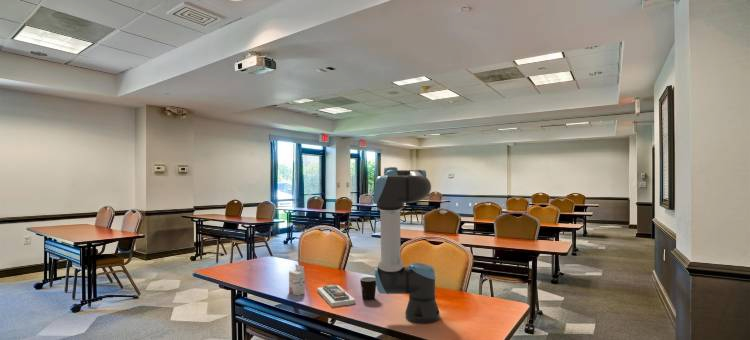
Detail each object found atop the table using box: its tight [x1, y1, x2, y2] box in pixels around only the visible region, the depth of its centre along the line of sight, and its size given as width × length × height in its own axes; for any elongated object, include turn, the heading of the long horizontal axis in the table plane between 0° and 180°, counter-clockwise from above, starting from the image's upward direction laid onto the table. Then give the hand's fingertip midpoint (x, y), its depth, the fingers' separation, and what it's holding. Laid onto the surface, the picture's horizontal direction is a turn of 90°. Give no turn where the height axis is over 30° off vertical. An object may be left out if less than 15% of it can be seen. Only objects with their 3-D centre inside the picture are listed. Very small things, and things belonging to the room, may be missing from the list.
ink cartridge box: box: [288, 264, 306, 296], centre depth 208 cm, size 9×5×15 cm, turn 47°
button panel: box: [316, 284, 356, 308], centre depth 200 cm, size 28×12×3 cm, turn 23°
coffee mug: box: [359, 276, 377, 301], centre depth 199 cm, size 12×9×10 cm
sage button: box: [325, 284, 336, 289], centre depth 207 cm, size 5×5×2 cm
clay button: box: [335, 289, 346, 296], centre depth 193 cm, size 5×5×2 cm
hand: (391, 238), depth 209 cm, fingers closed
